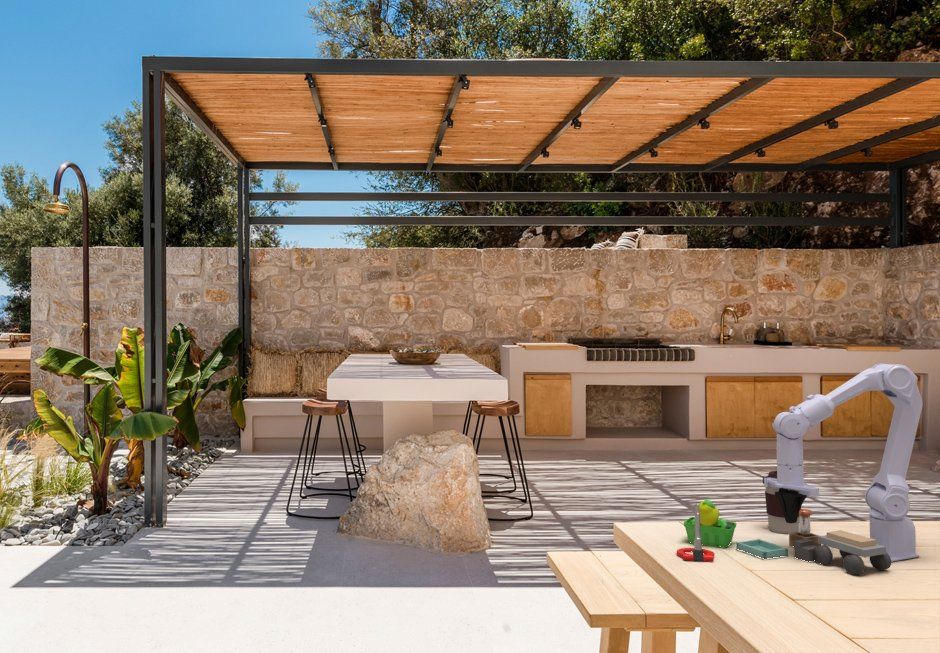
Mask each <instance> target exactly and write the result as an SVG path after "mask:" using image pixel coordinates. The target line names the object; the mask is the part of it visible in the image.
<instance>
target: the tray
mask: <svg viewBox="0 0 940 653" xmlns="http://www.w3.org/2000/svg"><path fill="white" fill-rule="evenodd" d="M735 543H736V545H735V546H736V548H735V549H739V550H743V551H745V552H748V553H751V554H753V555H756V556H759V557H761V558H764V559H767V558H773V557H780V556H788V557H789V548H788V547H785V546H782V545H779V544H776V543H773V542H770V541H766V540H763V539H759V538H757V539H751V540H743V541H736V542H735Z"/></svg>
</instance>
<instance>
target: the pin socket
mask: <svg viewBox="0 0 940 653" xmlns="http://www.w3.org/2000/svg"><path fill="white" fill-rule="evenodd" d="M818 536H820V535H819V534H815V533H811V532H810V537H803V536H800V531H798V532H795V533H788V546H789V545H790V546H789V547H791V546H794V541H796V540H802V539H809V540H812V541H813V545H814V546H821V545H822V544H819V543H818Z"/></svg>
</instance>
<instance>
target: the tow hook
mask: <svg viewBox="0 0 940 653" xmlns="http://www.w3.org/2000/svg"><path fill="white" fill-rule="evenodd" d="M699 504H700V503H695V512H694V517H695V538H694V543H693V544H694V545H693V546H694V547H682V548H677V550H676V555H677V556H678V557H681V558H682V561H685V560H688V562H699V561H703V562H708V561H713V562H714V560H715V559H714V558H715V552H714V551H712V550H710V549H706V548H703V545H702V538H701V531H700V513H699ZM691 551H692V552H691ZM685 552H688V553H685ZM703 553H704V554H703Z"/></svg>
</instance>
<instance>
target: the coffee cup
mask: <svg viewBox="0 0 940 653" xmlns="http://www.w3.org/2000/svg"><path fill="white" fill-rule="evenodd" d="M764 478H775V479H777V470H771V471H769V472H768V473H767V476H763V477H762V484H763V485H764ZM764 487H765V491H764V495H765V498H764V499H765V508H766V515H767V521H768V528H769V530H770V531H771V530H772V531H771V532H773V533H774V532H775V533H778V532H779V533H778V534H780V533H781V534H789V533H795V532H800V531H799V514H798V518H797V522H796V523H787V522H786V521H785V517H784V513H783V510H782V507H781V505H780V503H779V501H778V499H777V497H776V496H775V492H778V490H779V489H778V488H774V487H766V486H764ZM800 509H802V507H801V508H800Z"/></svg>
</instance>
